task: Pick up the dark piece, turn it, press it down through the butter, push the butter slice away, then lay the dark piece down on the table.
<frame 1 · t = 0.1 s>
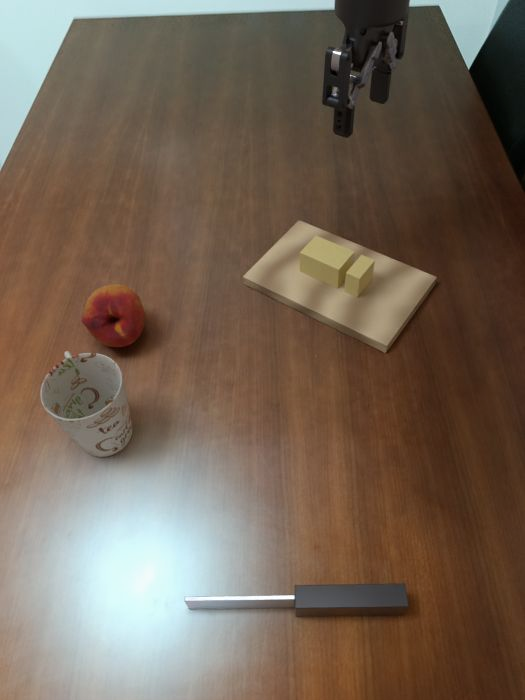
hand: (361, 117, 69), 20 cm above the table, tool pointing down, fingers open, 8 cm apart
board: (338, 284, 80), on the table
butter slice: (358, 285, 77), point 1 cm above the table, touching board
dark piece: (294, 605, 54), on the table
mug: (99, 421, 68), on the table
fruit: (121, 335, 76), on the table
butter: (326, 271, 79), point 1 cm above the table, touching board
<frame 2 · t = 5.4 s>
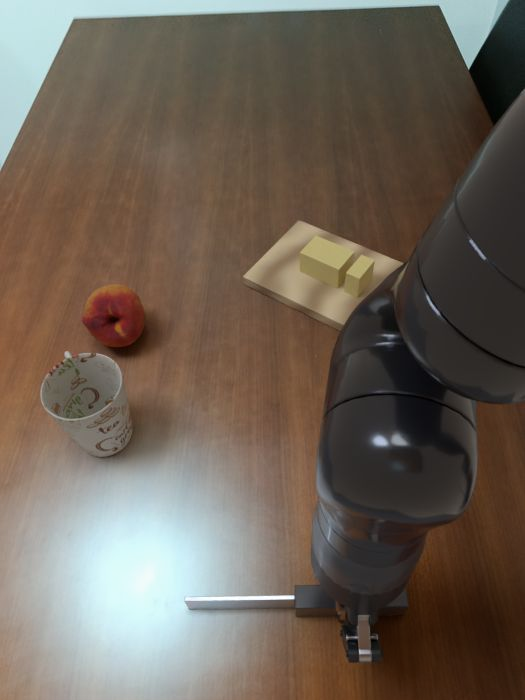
hand: (348, 603, 54), 0 cm above the table, tool pointing down, fingers closed on dark piece, 2 cm apart
dark piece: (294, 605, 54), on the table, touching gripper
everything else where it was.
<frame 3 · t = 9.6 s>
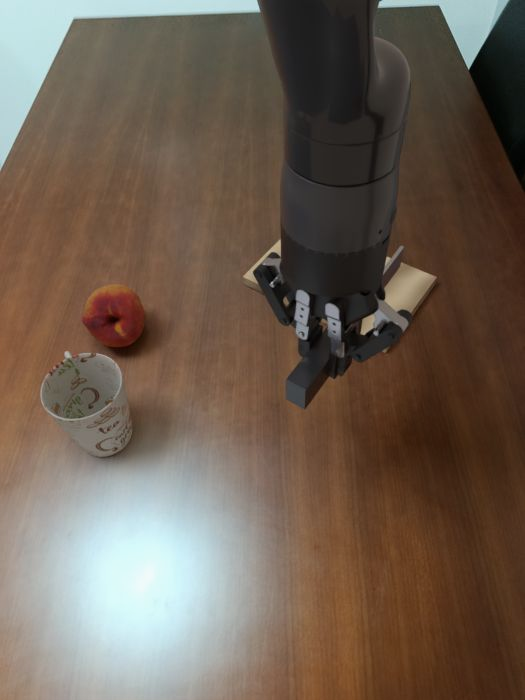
hand: (324, 364, 52), 15 cm above the table, tool pointing down, fingers closed on dark piece
dark piece: (351, 329, 55), point 15 cm above the table, touching gripper
everything else where it was.
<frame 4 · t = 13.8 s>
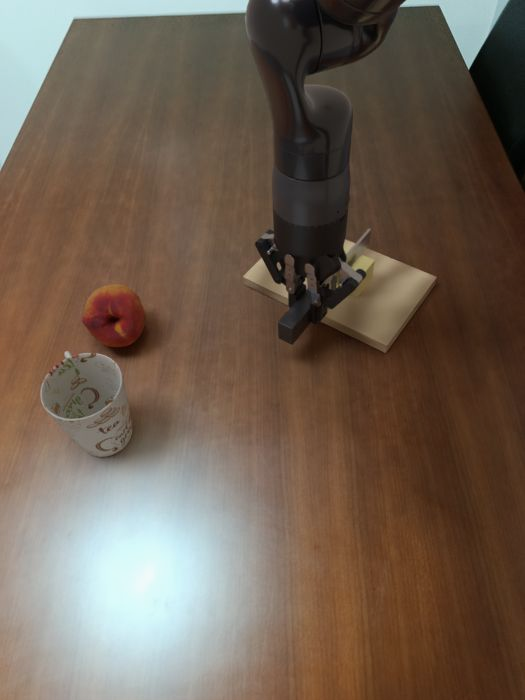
hand: (307, 314, 71), 4 cm above the table, tool pointing down, fingers closed on dark piece
dark piece: (329, 290, 73), point 4 cm above the table, touching gripper
everything else where it was.
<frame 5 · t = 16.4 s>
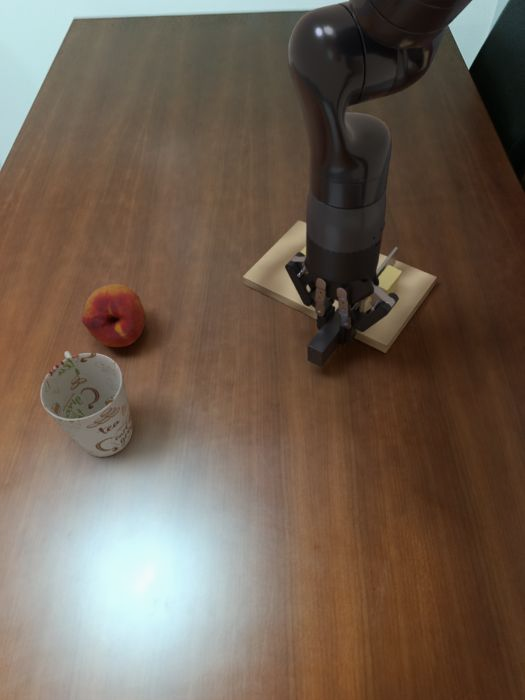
hand: (336, 335, 70), 3 cm above the table, tool pointing down, fingers closed on dark piece
butter slice: (382, 295, 76), point 2 cm above the table, tilted 5°, touching board
dark piece: (356, 310, 73), point 3 cm above the table, touching gripper
everything else where it was.
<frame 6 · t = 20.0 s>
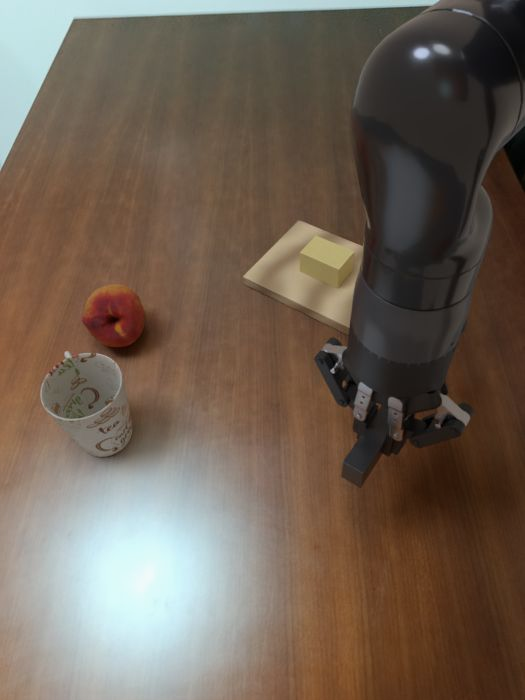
hand: (378, 440, 53), 10 cm above the table, tool pointing down, fingers closed on dark piece
butter slice: (382, 295, 76), point 1 cm above the table, touching board
dark piece: (403, 402, 56), point 10 cm above the table, touching gripper
everything else where it was.
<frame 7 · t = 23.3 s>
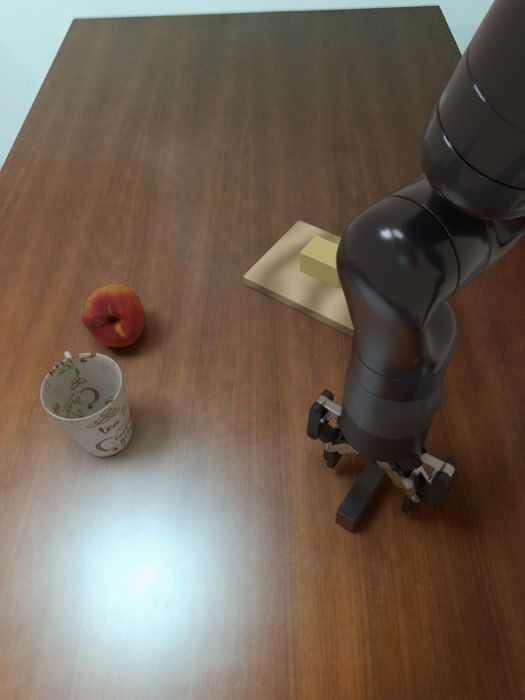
hand: (370, 482, 60), 2 cm above the table, tool pointing down, fingers open, 8 cm apart
dark piece: (390, 454, 64), on the table
everything else where it was.
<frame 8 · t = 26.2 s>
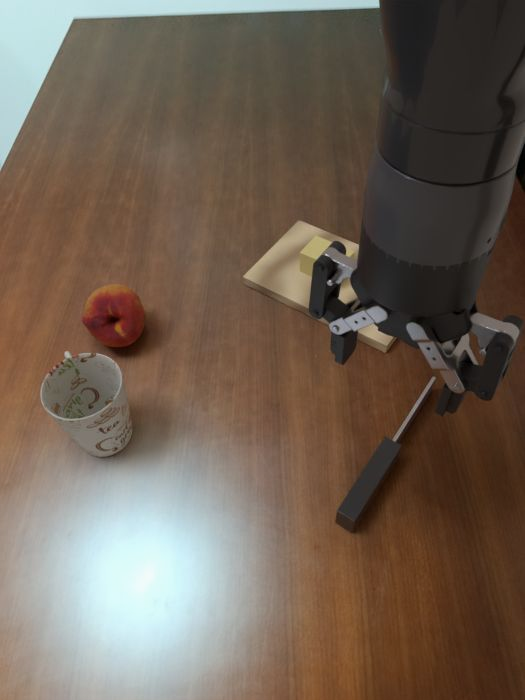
hand: (392, 380, 45), 20 cm above the table, tool pointing down, fingers open, 8 cm apart
nothing on the table moved.
at the end: butter slice moved 3.6 cm from its start; butter moved 0.0 cm from its start; the gripper is holding nothing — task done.
